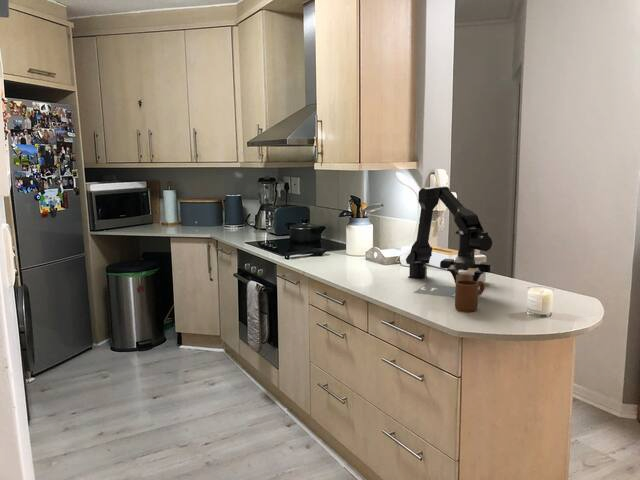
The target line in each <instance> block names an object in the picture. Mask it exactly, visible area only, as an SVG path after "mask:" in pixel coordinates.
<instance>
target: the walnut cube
mask: <svg viewBox="0 0 640 480" xmlns="http://www.w3.org/2000/svg"><path fill="white" fill-rule="evenodd" d="M474 276H475V275H474V273H469V272H462V271H459V273H458V274H456V282H457V281H460V280H470V281H474Z"/></svg>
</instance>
